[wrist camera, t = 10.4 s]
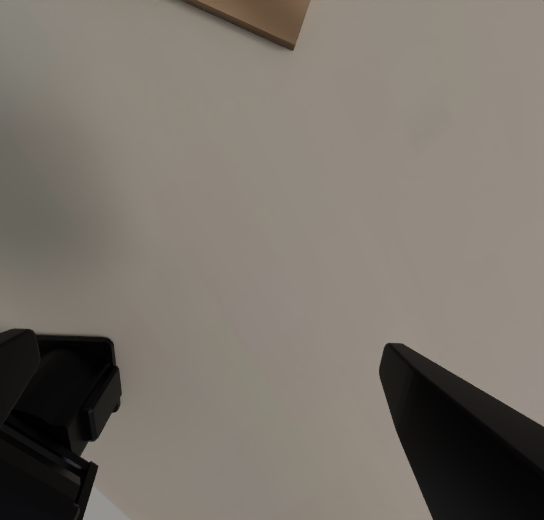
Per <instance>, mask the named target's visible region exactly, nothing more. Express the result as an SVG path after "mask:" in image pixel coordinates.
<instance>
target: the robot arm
mask: <svg viewBox="0 0 544 520" xmlns="http://www.w3.org/2000/svg"><path fill="white" fill-rule="evenodd" d="M103 345H106V346H107V347H104V346H103ZM379 375H380V380H381V383H382V386H383V389H384V393H385V396H386V399H387V403H388V406H389V409H390V413H391V416H392V419H393V422H394V426H395V429H396V431H397V434H398V437H399V439H400V442H401V444H402V447H403V449H404V451H405V454H406V456H407V458H408V461H409V463H410V466H411V468H412V470H413V473H414V475H415V478H416V480H417V482H418V485H419V487H420V489H421V492H422V494H423V497H424V499H425V501H426V504H427V506H428V509H429V511H430V513H431V516H432V518H433V520H544V427H543V426H542V425H540V424H538V423H537V422H535V421H533V420H531V419H530V418H528V417H526V416H525V415H523V414H521V413H519V412H518V411H516V410H514V409H513V408H511V407H509V406H508V405H506V404H504V403H502V402H501V401H499V400H497V399H496V398H494V397H492V396H491V395H489V394H487V393H485V392H484V391H482V390H480V389H479V388H477V387H475V386H474V385H472V384H470V383H468V382H467V381H465V380H463V379H462V378H460V377H458V376H456V375H455V374H453V373H451V372H450V371H448V370H446V369H445V368H443V367H441V366H439V365H438V364H436V363H434V362H433V361H431V360H429V359H428V358H426V357H424V356H422V355H421V354H419V353H417V352H416V351H414V350H412V349H411V348H409V347H407V346H405V345H404V344H401V343H387V344H386V345H385V347H384V350H383V355H382V359H381V363H380V367H379ZM121 395H122V391H121V382H120V373H119V368H118V367H117V366H116V360H115V352H114V344H113V342H112V341H111V340H109V339H103V338H75V337H47V336H36V335H35V332H34V331H33V330H31V329H10V330H8V331H5V332H2V333H0V520H83V516H84V513H85V510H86V506H87V503H88V500H89V496H90V493H91V489H92V486H93V483H94V480H95V476H96V473H97V469H98V465H96V464H95V463H93V462H92V461H90V462H88V461H86V460H85V459H83V458H82V457H80V456H81V454H82V452H83V451H84V449H85V447H86V445H87V444H88V442H89V441H90V442H94V441H95V440H96V439H97V438H98V437H99V435H100V434H101V432H102V430H103V428H104V426H105V424H106V422H107V421H108V419H109V417H110V415H111V413H114V412H117V411H118V409H119V407H120V397H121Z"/></svg>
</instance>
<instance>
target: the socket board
mask: <svg viewBox="0 0 544 520" xmlns="http://www.w3.org/2000/svg"><path fill="white" fill-rule="evenodd" d="M183 1H185V2H187V3H189V4H191V5H194V6H196V7H198V8H200V9H202V10H205V11H207V12H209V13H211V14H213V15H216V16H218V17H220V18H222V19H224V20H227V21H229V22H231V23H233V24H236V25H238V26H240V27H242V28H244V29H247V30H249V31H251V32H253V33H255V34H258V35H260V36H262V37H264V38H266V39H269V40H271V41H273V42H275V43H277V44H280V45H282V46H284V47H286V48H288V49H291V50H294V47H295V44H296V41H297V38H298V35H299V32H300V29H301V27H302V24H303V21H304V18H305V15H306V12H307V9H308V6H309V3H310V0H183Z"/></svg>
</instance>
